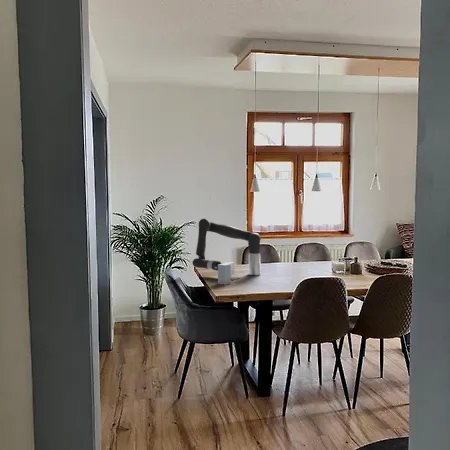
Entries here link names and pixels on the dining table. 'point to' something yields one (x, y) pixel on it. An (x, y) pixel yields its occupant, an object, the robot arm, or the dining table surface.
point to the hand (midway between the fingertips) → (230, 267)
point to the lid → (231, 267)
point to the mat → (234, 278)
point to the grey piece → (224, 274)
